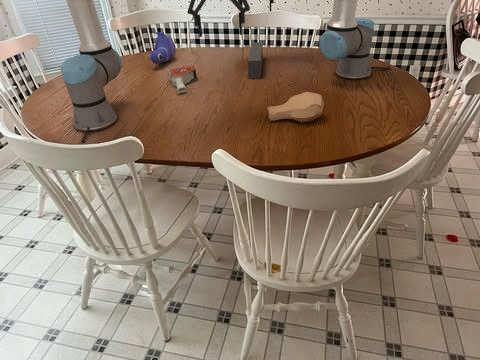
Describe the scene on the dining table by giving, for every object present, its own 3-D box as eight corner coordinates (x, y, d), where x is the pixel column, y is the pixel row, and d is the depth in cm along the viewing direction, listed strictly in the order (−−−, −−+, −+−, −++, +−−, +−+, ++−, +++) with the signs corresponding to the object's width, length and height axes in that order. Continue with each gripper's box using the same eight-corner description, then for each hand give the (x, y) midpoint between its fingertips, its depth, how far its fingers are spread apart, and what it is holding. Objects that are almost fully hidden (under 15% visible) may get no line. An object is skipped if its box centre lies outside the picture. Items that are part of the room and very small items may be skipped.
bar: (260, 78, 161) (260, 60, 157) (248, 78, 162) (247, 60, 157) (262, 58, 185) (262, 42, 180) (252, 58, 185) (251, 42, 180)
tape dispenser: (182, 98, 151) (209, 79, 163) (180, 86, 147) (208, 68, 160) (151, 89, 158) (180, 72, 171) (149, 78, 155) (178, 61, 167)
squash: (327, 123, 123) (327, 101, 117) (270, 133, 125) (267, 112, 119) (321, 105, 131) (320, 84, 124) (267, 115, 133) (264, 94, 126)
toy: (164, 64, 198) (143, 70, 176) (159, 31, 191) (137, 33, 169) (180, 63, 196) (162, 69, 173) (176, 30, 189) (156, 32, 167)
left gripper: (255, -42, 110) (257, 30, 122) (175, -38, 111) (185, 34, 123) (256, -40, 104) (258, 36, 116) (172, -35, 105) (182, 39, 117)
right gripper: (283, -44, 157) (282, 8, 169) (227, -41, 159) (230, 10, 172) (283, -42, 151) (282, 12, 163) (225, -39, 153) (228, 14, 166)
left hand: (220, 35), depth 120 cm, fingers open, 13 cm apart
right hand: (256, 11), depth 168 cm, fingers open, 13 cm apart
